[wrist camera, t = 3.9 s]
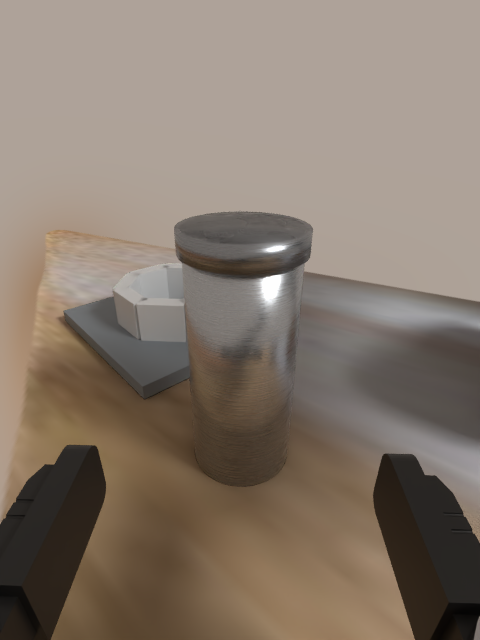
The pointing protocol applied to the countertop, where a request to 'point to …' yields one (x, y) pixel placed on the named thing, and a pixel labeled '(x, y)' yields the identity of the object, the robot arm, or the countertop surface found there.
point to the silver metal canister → (242, 337)
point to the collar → (140, 328)
